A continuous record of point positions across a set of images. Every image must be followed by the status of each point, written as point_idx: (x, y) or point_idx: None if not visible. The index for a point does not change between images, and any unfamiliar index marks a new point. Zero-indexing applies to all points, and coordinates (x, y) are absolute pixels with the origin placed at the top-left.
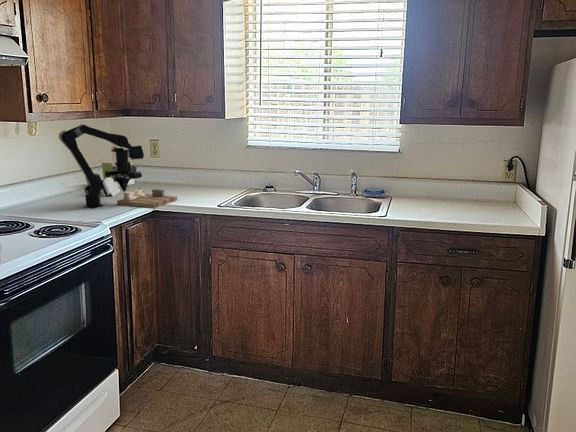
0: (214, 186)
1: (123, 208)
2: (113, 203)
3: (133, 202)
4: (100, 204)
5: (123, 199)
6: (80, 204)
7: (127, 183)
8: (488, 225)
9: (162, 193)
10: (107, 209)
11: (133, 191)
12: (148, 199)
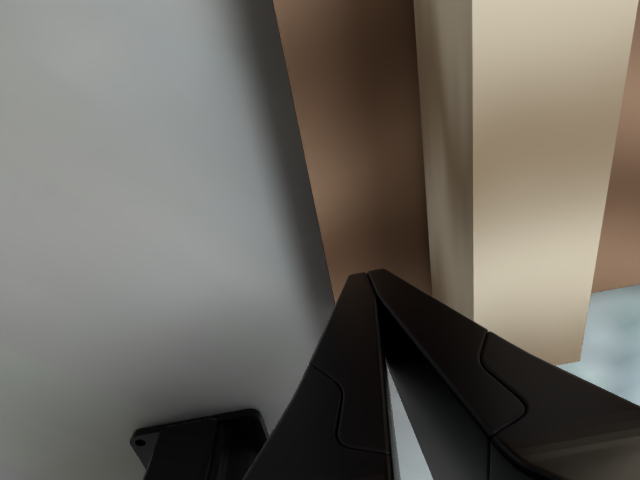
0: None
1: None
2: (241, 294)
3: (596, 289)
4: (229, 423)
5: (355, 255)
6: (21, 467)
7: (530, 376)
8: None
9: None
10: (416, 449)
11: (546, 179)
12: None
